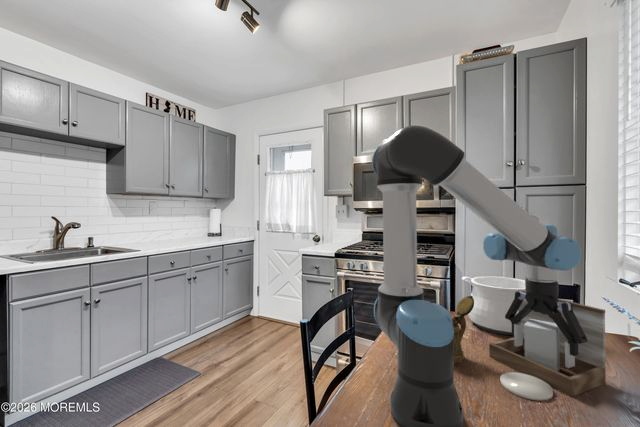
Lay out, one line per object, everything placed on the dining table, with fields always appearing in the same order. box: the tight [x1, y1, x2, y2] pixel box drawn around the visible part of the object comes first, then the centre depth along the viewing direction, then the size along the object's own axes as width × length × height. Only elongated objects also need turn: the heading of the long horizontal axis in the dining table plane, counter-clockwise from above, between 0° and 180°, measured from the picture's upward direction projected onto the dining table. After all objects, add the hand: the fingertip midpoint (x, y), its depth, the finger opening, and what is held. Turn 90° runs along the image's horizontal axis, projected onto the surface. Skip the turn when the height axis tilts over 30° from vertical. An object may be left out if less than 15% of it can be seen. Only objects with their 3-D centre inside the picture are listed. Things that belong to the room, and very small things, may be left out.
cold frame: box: [488, 290, 607, 397], centre depth 85 cm, size 14×22×19 cm, turn 22°
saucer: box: [499, 371, 554, 402], centre depth 77 cm, size 11×11×1 cm
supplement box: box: [524, 319, 561, 373], centre depth 85 cm, size 7×7×13 cm
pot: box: [461, 275, 526, 336], centre depth 118 cm, size 28×24×17 cm
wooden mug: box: [452, 295, 474, 364], centre depth 94 cm, size 9×14×18 cm, turn 102°
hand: (542, 355), depth 85 cm, fingers open, 13 cm apart
